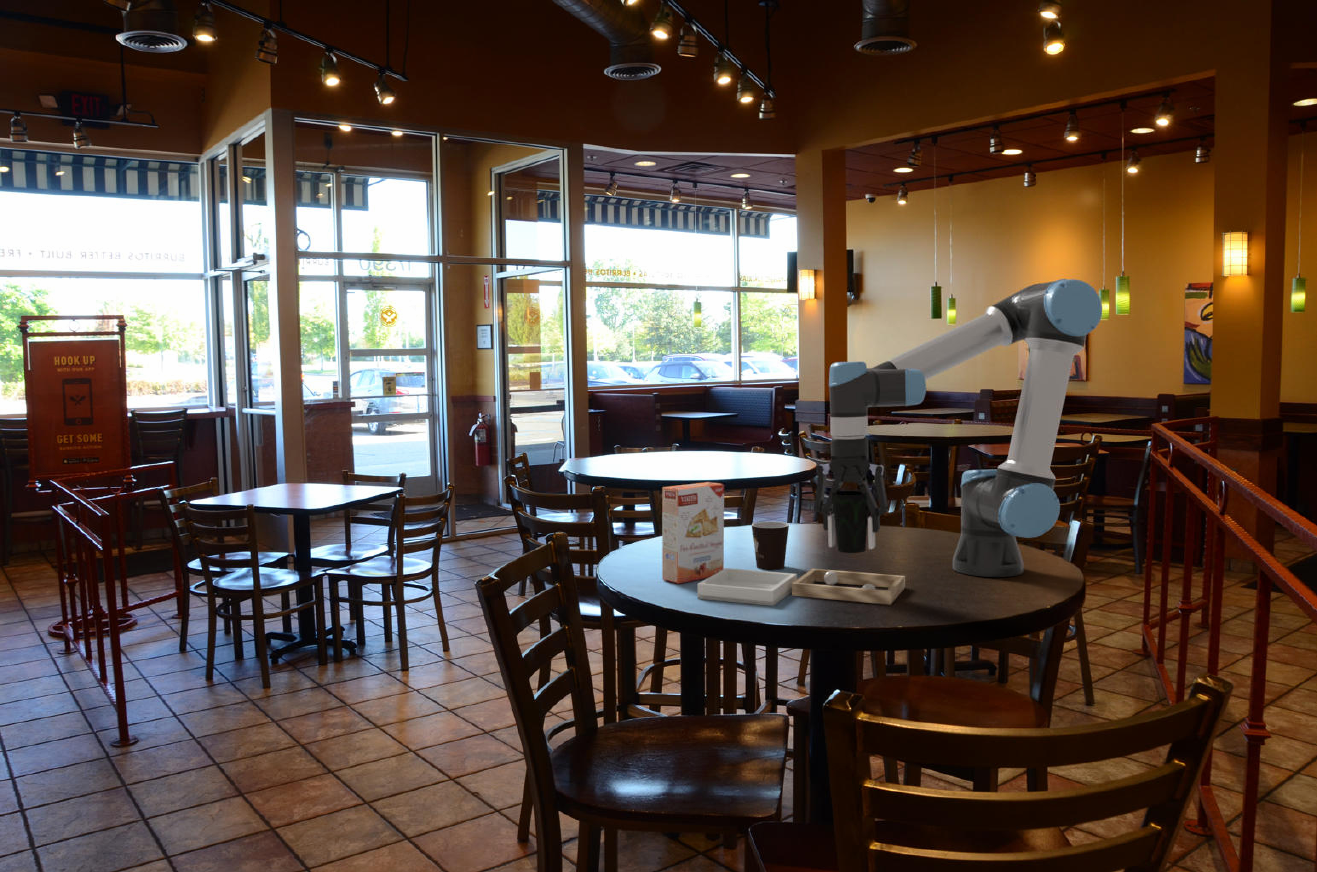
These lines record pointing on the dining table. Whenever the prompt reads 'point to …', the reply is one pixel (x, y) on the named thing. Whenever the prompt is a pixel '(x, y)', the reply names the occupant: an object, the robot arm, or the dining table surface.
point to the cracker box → (692, 531)
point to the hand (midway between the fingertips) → (851, 546)
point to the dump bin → (747, 586)
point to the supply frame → (809, 589)
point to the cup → (850, 520)
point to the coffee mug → (770, 544)
